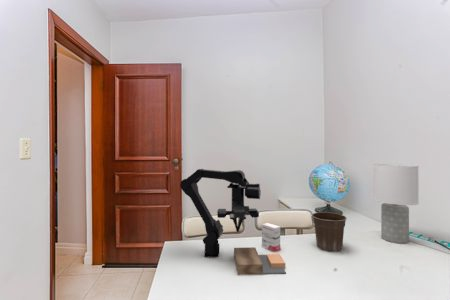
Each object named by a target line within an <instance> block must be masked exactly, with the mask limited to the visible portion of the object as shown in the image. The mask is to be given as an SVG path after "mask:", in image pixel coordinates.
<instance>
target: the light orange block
mask: <svg viewBox="0 0 450 300" xmlns="http://www.w3.org/2000/svg"><path fill="white" fill-rule="evenodd" d="M265 255H266V259H267V261H268V263H269V265H270V267H271V268H284V269H286V261H285V260H284V259H283V257H282V255H281V254H280V253H266V254H265Z"/></svg>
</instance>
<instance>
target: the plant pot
mask: <svg viewBox="0 0 450 300" xmlns="http://www.w3.org/2000/svg"><path fill="white" fill-rule="evenodd" d="M311 217H312V220H313V224H314V231H315V233H314V234H315V240H316V246H317V248H318V249H320V250H322V251H324V250H326V252H330V253H337V252H341V251H342V250H343V246H344V245H343V243H344V232H345V227H346V221H347V217H346V215H343V214H341V213H335V212H330V211H323V212H322V211H320V212H319V211H317V212H314V213H312V214H311Z"/></svg>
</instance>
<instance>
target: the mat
mask: <svg viewBox="0 0 450 300" xmlns="http://www.w3.org/2000/svg"><path fill="white" fill-rule="evenodd" d="M258 255H259V257H260V259H261V262H262V264H263V274H262V275H287V271H286V270H285V268H271V267H270V265H269V263H268V261H267V259H266V254H258Z"/></svg>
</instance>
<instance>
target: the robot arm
mask: <svg viewBox="0 0 450 300" xmlns="http://www.w3.org/2000/svg"><path fill="white" fill-rule="evenodd" d="M202 178H203V179H204V178H205V179H214V180H224V181H226V182H229V185H227V186H226V188H227V189H231V210H227V209H226V208H218V209H217V212H216V215H217V218H218V219H217V220H216V219H215V218H214V217H213V216H212V214H211V211H209V209H208V207H207V205H206V203H205V201H204V200H203V198H202V196H201V194H200V191H199V186H198V183H199V182H200V181H201V180H202ZM179 187H180V190H182V191H183V193H184V194H185V195H186V196H188V197H189V198H190V200H191V202H192V204H193V205H194V206H195V209H196V210H197V212H198V214H199V216H200V218H201V219H202V221H203V224H204V228H205V232H206V234H207V235H205V237H204V238H203V239H202V242H203V244H204V258H217V257H218V258H219V255H220V243H219V239H220V237H221V236H222V235H223V234H224V226H223V225H222V224H221V220H220V219H221V218H223V219H224V218H226V217H227V216H229V219H230V220H232V221H233V223H234V227H235V230H236V233H239V232H240V229H241V226H242V224H243V221H244V220H246V219H247V216H250V217H251V218H259V217H260V216H259V215H260V213H259V211H258V209H257V208H250V206H249V205H246V206H245V198H247V199H252V200H261V193H262V192H261V184H260V183H250V182H249V181H248V180H247V178H246V174H245V172H244V171H243V170H240V169H239V170H238V169H237V170H229V171H228V170H227V171H222V170H213V169H204V168H199V169H196V171H194V173H192V174H191V175H190V176H189V175H188V177H187V178H185V179H182V180H181V182H180V184H179Z"/></svg>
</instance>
